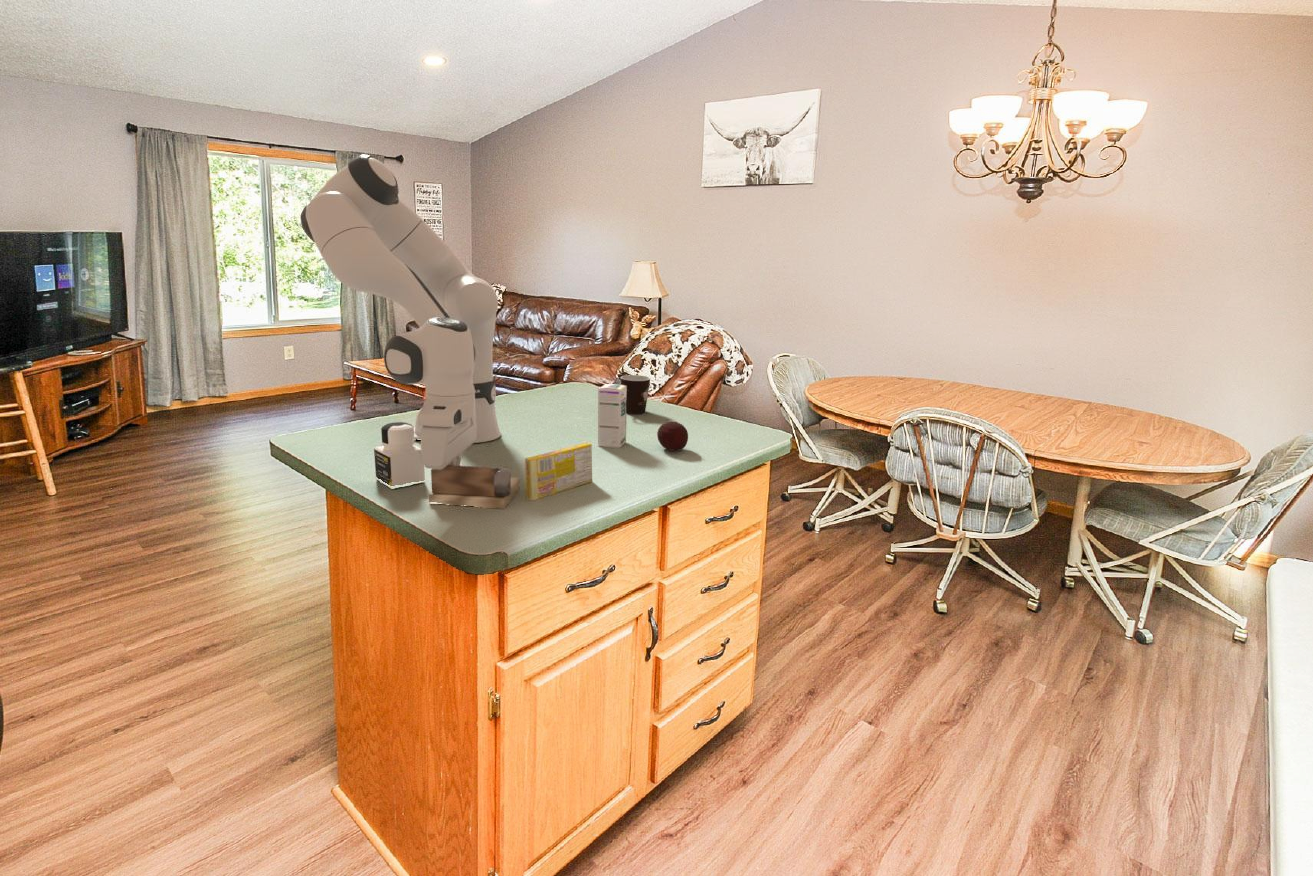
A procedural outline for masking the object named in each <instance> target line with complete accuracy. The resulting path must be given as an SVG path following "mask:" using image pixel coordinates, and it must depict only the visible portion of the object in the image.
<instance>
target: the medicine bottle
mask: <svg viewBox="0 0 1313 876" xmlns="http://www.w3.org/2000/svg"><path fill="white" fill-rule="evenodd" d="M380 431H381V443H382V445H381V446H375V447H374V449H373V453H374V465H375V466H374V468H375V478H376V477H377V478H378V479H381V480H382V481H383V482H385V483H387V484H388V485H390V486H395V485H403V484H406V483H411V482H419V481H424V480H425V481H426V479H425V478H426V476H425V475H426V474H425V465H424V463H423V460H422V451H421V447H419V446H417V445H415V440H414V426H413V425H412V424H411V423H408V422H403V421H398V422H397V421H396V422H390V423H386V424H385V425H382V427H381V428H380Z"/></svg>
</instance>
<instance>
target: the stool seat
mask: <svg viewBox="0 0 1313 876" xmlns="http://www.w3.org/2000/svg"><path fill="white" fill-rule="evenodd" d="M520 481H521V479H520V477H511V494H510V495H509V496H506V497H494V496H478V495H460V494H443V493H432V491H431V492H429V493H428V503H429V502H437V503H442V504H449V505H463V506H462V507H464V505H466V506H474V507H473V508H480V507H482V508H483V509H495V508H499V510H504V509H505V508H506V506H507V505H508V504H509V503H508V502H510V501H511V500H512V499H511V498H513V497H514V496H515V495H516V493H517V492H518V491H519V489H520V487H521V482H520ZM475 506H476V507H475ZM482 508H481V509H482Z"/></svg>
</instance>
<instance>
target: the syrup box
mask: <svg viewBox="0 0 1313 876" xmlns="http://www.w3.org/2000/svg"><path fill="white" fill-rule="evenodd" d="M626 394H627V386H626V385H621V383H620V384H619V383H604V384H603V385H602V386H600V387H599V388H598V389H597V445H598V446H600V447H604V448H606V447H607V448H616V449H620V448H621V447H622V446H623V445H625V444H626V442H627V413H626Z"/></svg>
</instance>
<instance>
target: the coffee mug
mask: <svg viewBox="0 0 1313 876" xmlns="http://www.w3.org/2000/svg"><path fill="white" fill-rule="evenodd" d="M650 384H651V377H649V376H647V375H639V374H636V375H635V374H629V375H628V374H627V375H622V376H620V385H626V386H627V394H626V414H627V413H628V415H644V414H645V413H646V410H647V403H648V396H649V389H650Z"/></svg>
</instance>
